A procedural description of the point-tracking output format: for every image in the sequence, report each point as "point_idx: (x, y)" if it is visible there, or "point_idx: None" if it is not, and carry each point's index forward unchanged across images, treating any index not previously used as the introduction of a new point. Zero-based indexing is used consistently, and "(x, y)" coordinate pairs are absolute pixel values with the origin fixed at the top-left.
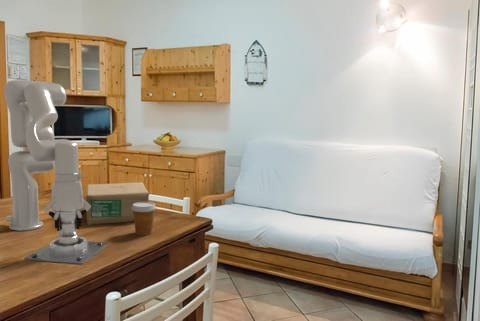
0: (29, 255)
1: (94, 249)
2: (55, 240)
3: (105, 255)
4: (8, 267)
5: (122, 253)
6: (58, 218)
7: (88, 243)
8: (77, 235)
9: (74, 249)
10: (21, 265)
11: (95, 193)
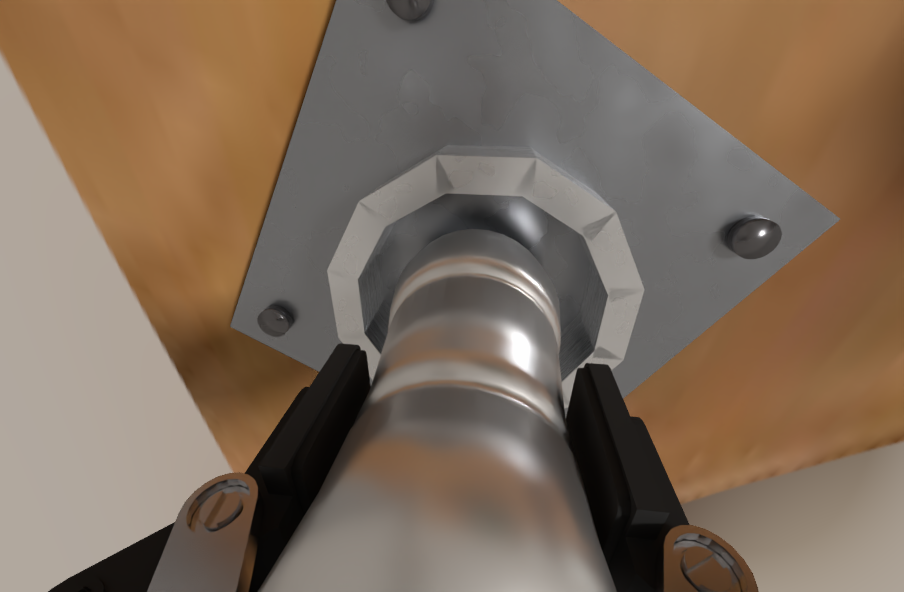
0: (243, 294)
1: (652, 335)
2: (367, 240)
3: (678, 415)
4: (200, 386)
5: (790, 423)
6: (298, 495)
7: (666, 170)
8: (559, 347)
9: None
10: (250, 385)
11: None
